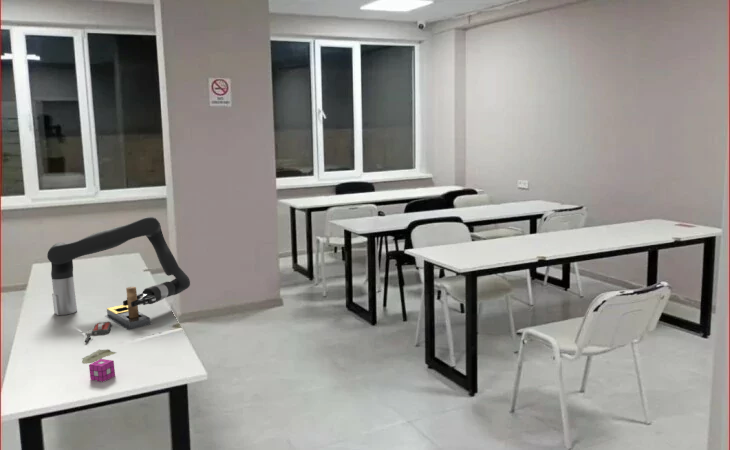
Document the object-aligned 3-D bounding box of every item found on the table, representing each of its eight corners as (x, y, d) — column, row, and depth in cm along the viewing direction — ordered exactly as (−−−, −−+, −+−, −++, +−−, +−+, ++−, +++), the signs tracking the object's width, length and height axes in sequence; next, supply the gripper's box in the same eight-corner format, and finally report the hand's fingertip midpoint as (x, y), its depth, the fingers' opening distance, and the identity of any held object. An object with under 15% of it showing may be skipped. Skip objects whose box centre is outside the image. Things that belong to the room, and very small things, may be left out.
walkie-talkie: (91, 329, 267) (83, 345, 248) (90, 319, 267) (82, 334, 247) (112, 327, 270) (106, 342, 250) (111, 317, 269) (105, 332, 250)
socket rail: (128, 332, 261) (127, 322, 261) (105, 317, 282) (104, 308, 281) (153, 325, 268) (152, 316, 268) (128, 312, 289) (128, 303, 288)
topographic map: (72, 364, 228) (71, 360, 228) (99, 350, 241) (99, 346, 240) (100, 369, 224) (100, 365, 223) (127, 355, 236) (126, 351, 236)
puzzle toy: (90, 380, 212) (88, 364, 211) (102, 373, 218) (101, 358, 217) (103, 382, 210) (101, 366, 209) (115, 375, 216) (113, 360, 215)
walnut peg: (131, 325, 267) (128, 289, 264) (128, 323, 270) (124, 288, 267) (140, 323, 270) (137, 287, 267) (137, 321, 273) (133, 286, 270)
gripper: (142, 284, 283) (114, 294, 268) (167, 286, 278) (139, 297, 262) (144, 300, 285) (116, 310, 269) (168, 302, 279) (141, 314, 264)
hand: (127, 304), depth 266 cm, fingers closed on walnut peg, 4 cm apart
